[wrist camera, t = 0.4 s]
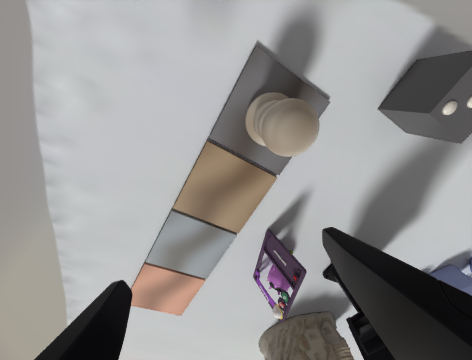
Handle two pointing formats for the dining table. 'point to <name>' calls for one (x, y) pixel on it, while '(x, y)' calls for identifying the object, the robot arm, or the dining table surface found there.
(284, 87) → the game board
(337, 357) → the sand castle
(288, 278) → the game card
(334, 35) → the dining table surface
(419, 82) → the die
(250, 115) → the pawn
